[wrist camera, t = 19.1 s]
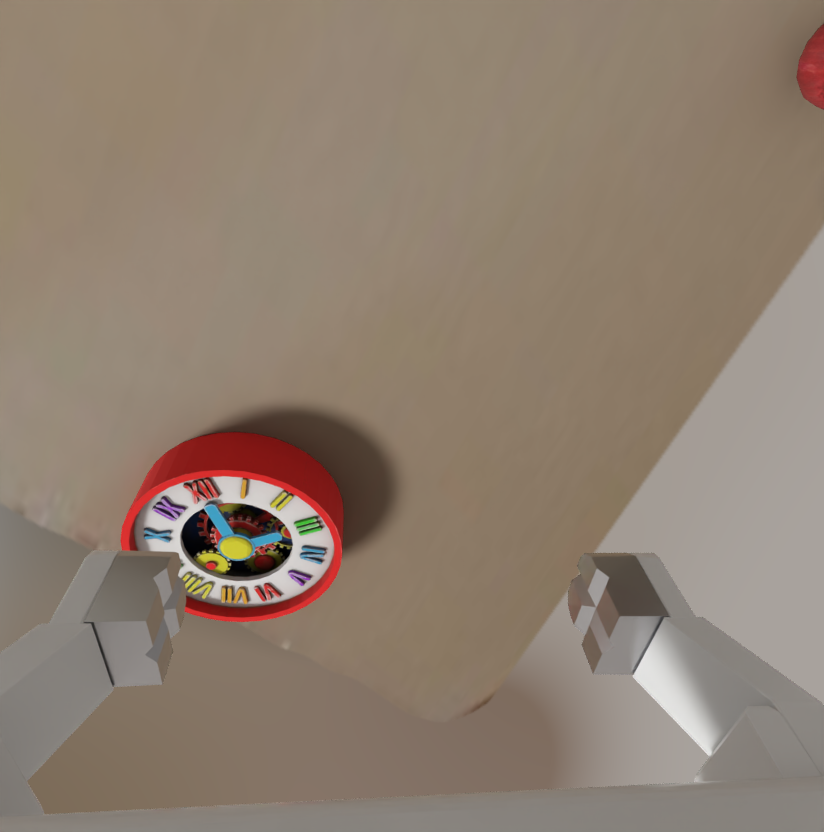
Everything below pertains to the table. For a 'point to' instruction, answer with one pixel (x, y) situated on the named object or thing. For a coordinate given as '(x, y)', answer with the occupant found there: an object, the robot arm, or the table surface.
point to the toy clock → (241, 524)
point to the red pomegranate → (813, 69)
